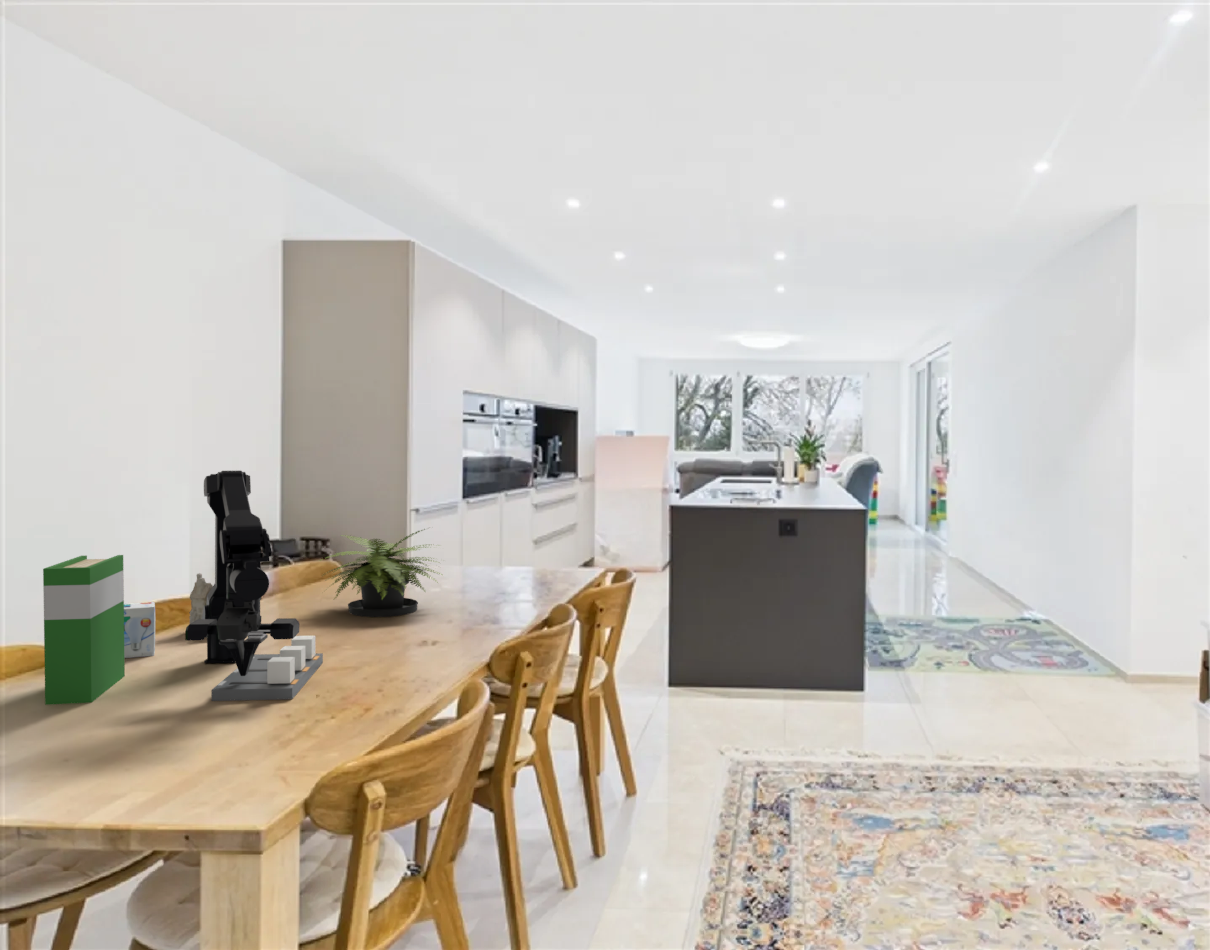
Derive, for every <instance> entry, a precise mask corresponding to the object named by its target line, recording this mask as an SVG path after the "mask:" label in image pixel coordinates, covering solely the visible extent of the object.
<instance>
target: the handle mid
mask: <svg viewBox="0 0 1210 950" xmlns="http://www.w3.org/2000/svg"><path fill="white" fill-rule="evenodd" d="M279 654H280V657H295V671H297V670H302V669H303V668H304V667H305V646H291V645H284V646H283V647H282V648H280V650H279Z"/></svg>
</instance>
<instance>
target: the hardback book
mask: <svg viewBox="0 0 1210 950" xmlns="http://www.w3.org/2000/svg"><path fill="white" fill-rule="evenodd" d="M42 573H43V576H42V577H43V578H42V579H43V580H42V583H43V586H42V587H43V590H42V591H43V642H44V644H43V645H44V646H43V647H44V651H43V652H44V653H43V654H44V656H43V657H44V696H45V697H44V705H45V706H46V705H47V706H49V705H50V706H51V705H64V704H65V705H68V704H86V703H87V704H90V703H91V704H92V703H93V702H94V701H95V700H97V699H98V698H99V697H101V696H102V695H103V694H104V693H105V692H107V691H108V690H110V688H112V687H113V686H114V685H116V684H117V683H118V682H119V681H120V680H122V679H123V678H124V677H125V668H126V666H125V658H124V604H125V600H124V598H125V594H124V593H125V590H124V589H125V588H124V587H125V586H124V578H125V577H124V576H125V575H124V554H117V555H114V556H111V557H109V558H88V555H79V556H76V557H74V558H70V559H69V560H68V559H67V560H64V561H62V562H60V563H59V562H58V563H56V564H53V565H50V566H48V567H45V568H42Z"/></svg>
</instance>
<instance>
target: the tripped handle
mask: <svg viewBox="0 0 1210 950" xmlns="http://www.w3.org/2000/svg"><path fill="white" fill-rule="evenodd" d="M294 678H295V657H272V658H271V659H270V660H269V661H268V662H267V684H278V683H291V682H292V681H293V679H294Z"/></svg>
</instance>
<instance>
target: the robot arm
mask: <svg viewBox="0 0 1210 950" xmlns="http://www.w3.org/2000/svg"><path fill="white" fill-rule="evenodd" d="M251 488H252V487H251V475H250V474H249V475H248V474H247V473H246V471H242V470H221V471H218V472H217V473H211V474H210V475H206V476H205V477H204V480H203V497H206V502H207V504H208V506H209V507H210V509H211V510H212V512H213V514H214V516H215V518H214V521H215V522H214V523H215V525H214V526H215V527H214V533H215V534H214V535H215V537H214V541H215V542H214V544H215V545H214V576H215V577H214V584H213V587H212V589H211V590H210V592H209V593H208V595H207V605H204V608H203V616H202V619H197V620H196V621H194V622H192V623H191V624H190V623H188V625H187V626H186V628H185V631H184V633H185V638H184V639H185V641H204V640H205V639H206V651H207V652H206V653H207V654H206V655H207V656H206V657H207V658H206V659H205V660H203V661H204V664H216V663H217V664H218V663H219V664H222V663H225V664H226V663H227V664H228V663H229V664H230V663H235V666H236V669H237V668H238V670H239V673H240V675H241V676H246V675H247V673H248V670H249V667H250V665H251V662H252V659H253V657H254V654H256V652H257V649H258V648H259V646H260V645H261V644H262V643H263V642H264V641H265V640H266V639H267V638H268V635H270V637H271V638H272V639H274V640H292V639H293V638H294V637H295V636H298V634H300V621H299V620H298V619H297V618H295V617H294V618H289V617H287V618H276V619H274V621H273V622H271V623H262V615H261V600H262V597H264V596H265V595H266V593H267V592H268V589H269V587H270V579H269V577H268V575H267V574H266V572H265V571H264V570H262V567H261V566H262V565H261V563H262V562H264V563H265V562H270V557H272V552H273V551H272V547H271V546H272V545H271V539H270V536H269V533H268V532H267V529H266V528H263V524H262V522H261V518H260V517H259V516H257V515H255V514H253V513H252V511H251V506H250V501H249V497H248V496H249V495H251V493H252V492H251V491H252V490H251ZM206 637H207V638H206Z"/></svg>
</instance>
